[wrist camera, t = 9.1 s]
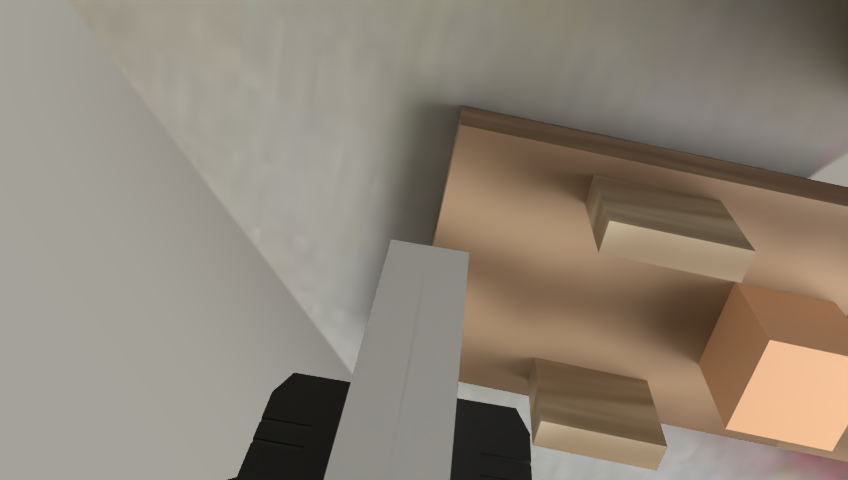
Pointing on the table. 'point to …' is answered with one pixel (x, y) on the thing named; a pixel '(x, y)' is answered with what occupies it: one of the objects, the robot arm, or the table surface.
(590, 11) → the table surface
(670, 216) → the deck
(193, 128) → the table surface
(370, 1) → the table surface
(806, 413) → the block
